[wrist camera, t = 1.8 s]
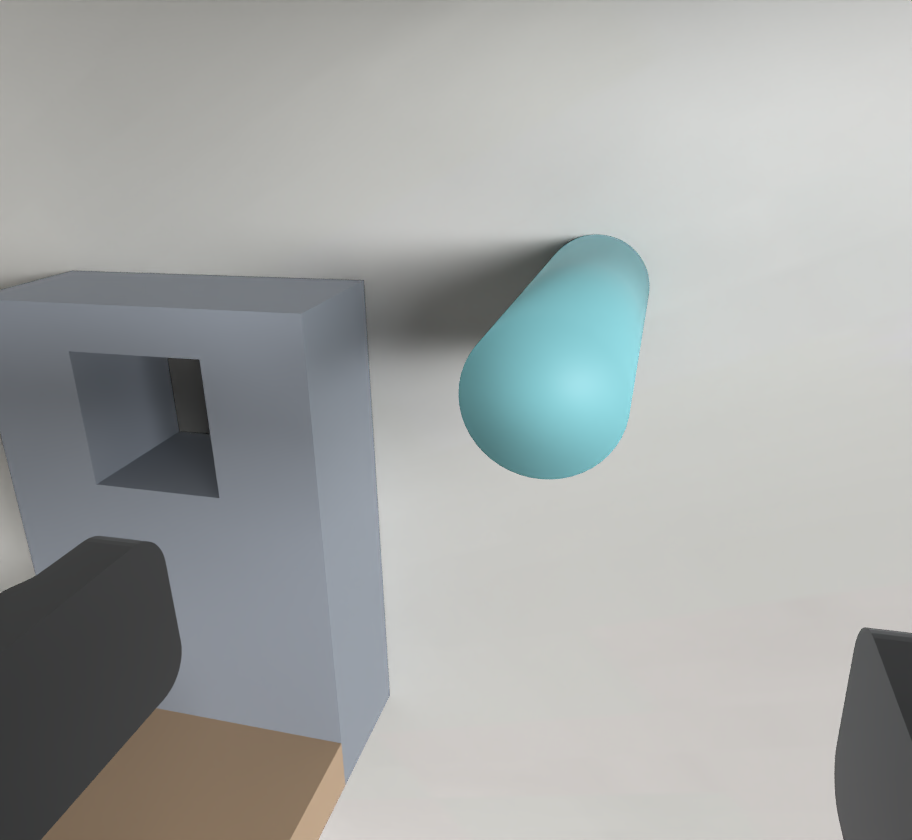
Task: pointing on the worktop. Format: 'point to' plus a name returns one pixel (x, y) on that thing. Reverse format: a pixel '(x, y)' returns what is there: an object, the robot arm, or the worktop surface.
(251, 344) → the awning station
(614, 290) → the peg
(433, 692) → the worktop surface
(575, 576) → the worktop surface
